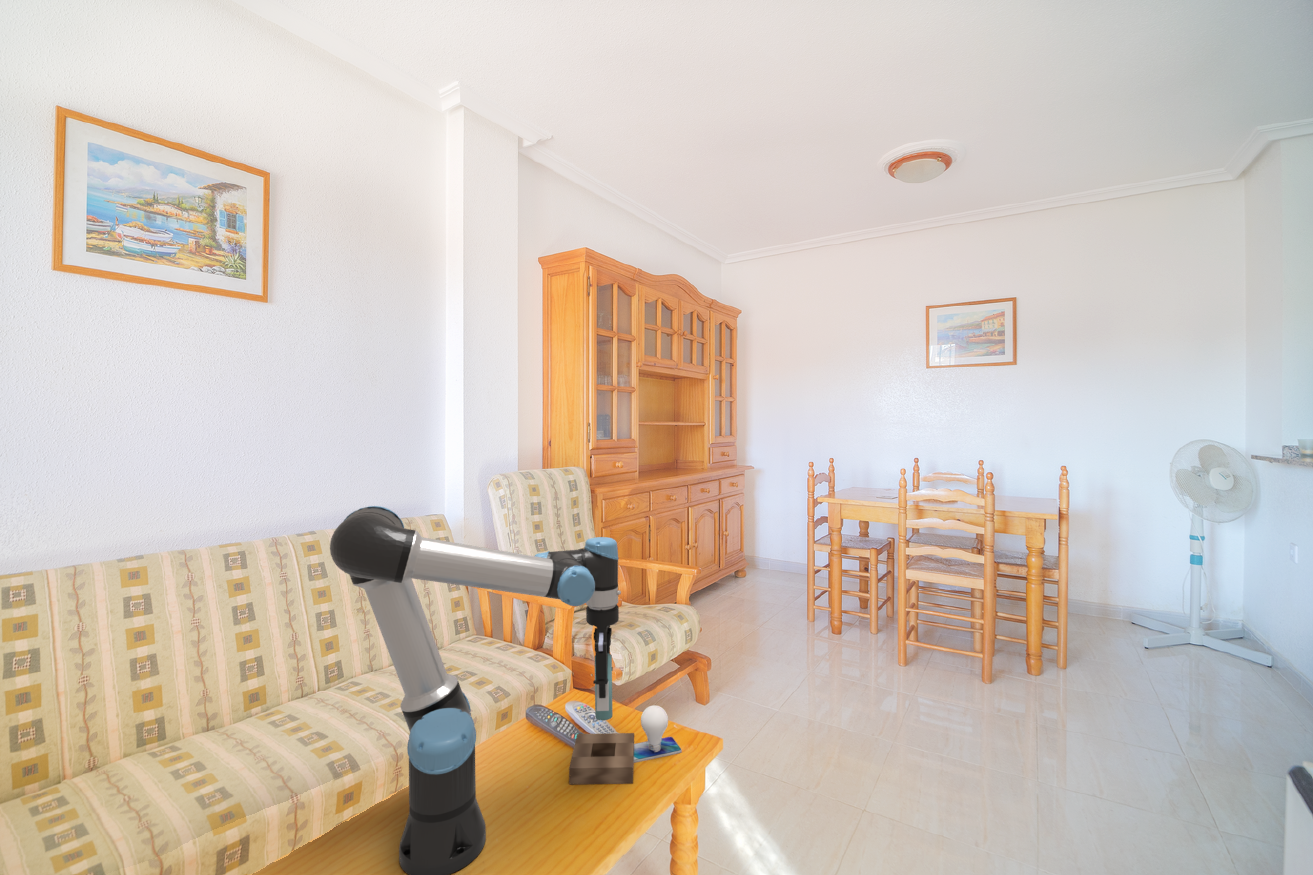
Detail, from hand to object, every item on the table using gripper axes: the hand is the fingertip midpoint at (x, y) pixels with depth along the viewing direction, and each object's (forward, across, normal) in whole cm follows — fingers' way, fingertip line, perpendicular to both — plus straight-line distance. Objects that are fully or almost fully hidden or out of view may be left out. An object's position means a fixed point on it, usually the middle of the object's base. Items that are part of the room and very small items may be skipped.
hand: (603, 704), depth 130 cm
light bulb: (+14, +5, -12) cm, 19 cm away
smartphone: (+15, +6, -10) cm, 19 cm away
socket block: (+14, 0, 0) cm, 14 cm away
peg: (+3, 0, 0) cm, 3 cm away
